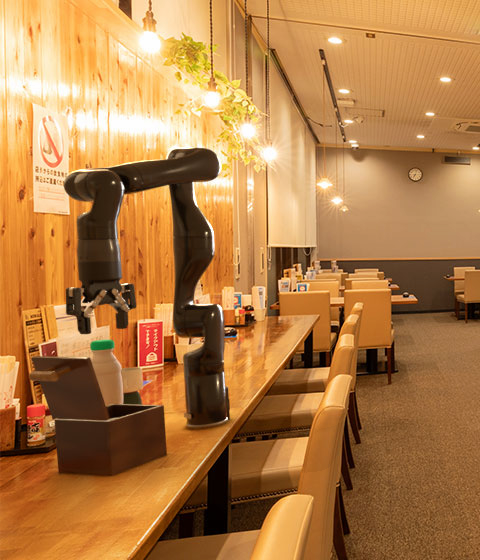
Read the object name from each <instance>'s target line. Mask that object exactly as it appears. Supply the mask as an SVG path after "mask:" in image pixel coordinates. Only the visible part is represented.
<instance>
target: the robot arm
mask: <svg viewBox="0 0 480 560" xmlns="http://www.w3.org/2000/svg"><path fill="white" fill-rule="evenodd" d="M221 170H222V163H221V159H220V157H219V155H218V154H217V153H216V152H215V151H214V150H212V149H209V148H207V147H197V146H196V147H175V148H172V149H171V150H170V151H169V152H168V153H167V156H166V158H165V159H152V160H151V159H150V160H140V161H132V162H126V163H121V164H118V165H114V166H107V167H95V168H94V167H93V168H84V169H78V170H75V171H72V172H70V173H69V174H68V175H66V177H65V179H64V181H63V190H64V192H65V193H66V194H67V196H69V197H70V198H71V199H73V200H74V201H77V202H84V203H92V204H91V208H90V210H88V211H87V212H83V213H80V214H78V215H77V217H76V223H75V224H76V235H77V236H76V237H77V243H76V259H77V272H78V273H77V274H78V275H77V276H78V280H79V282H81V286H80V287H67V288H66V289H65V314H66V315H67V316H73V317H75V318H76V325H77V332H78V333H79V334H80V335H90V334H92V325H91V324H92V323H91V317H90V315H91V314H92V312H93V311H94V310H96V309H97V307H98V306H103V305H108V306H110V307H112V308H113V309H114V311H116V312H115V326H116V329H118V330H125V329H127V328H128V327H129V312H130V311H131V310H134V309H137V299H136V290H135V284H134V283H128V282H127V283H121V282H120V280H122V279H123V270H122V269H123V268H122V255H121V247H120V243H119V232H118V231H119V230H118V220H119V216H120V213H121V208H122V205H123V201H124V196H125V195H126V196H127V195H134V194H139V193H142V192H147V191H150V190H154V189H158V188H161V187H166V186H168V189H169V195H170V204H171V220H172V251H173V262H174V263H173V267H174V289H173V290H174V291H173V306H172V308H173V309H172V325H173V330H174V333H175V335H176V336H177V337H179V338H181V339H203V344H202V345H201V346H199V347H198V348H195V349H193V350H190V351H187V352H185V353H184V354H183V356H182V362H183V363H182V364H183V366H182V367H183V382H184V383H183V384H184V397H185V398H184V399H185V400H184V401H185V412H184V413H183V417H184V418H185V419H186V428H187V429H190V430H191V429H192V430H202V429H208V428H214V427H218V426H222V425H224V424H226V423H228V421H230V420H231V414H230V410H231V404H230V403H231V402H230V397H229V395H230V394H229V387H228V386H226V375H225V373H226V372H225V349H226V347H225V346H226V344H225V343H226V342H225V337H226V336H225V335H226V334H225V331H226V330H225V329H226V327H225V326H226V323H225V322H226V320H225V313H224V310H223V307H222V306H221V305H219V304H218V303H195V294H196V288H197V286H198V284H199V281H200V280H201V278H202V277H203V275H204V274H205V273H206V272H207V270H208V268H209V267H210V266H211V263H212V261H213V260H214V257H215V253H216V252H215V233H214V229H213V227H212V225H211V223H210V222H209V220H208V219H207V217H206V216H205V214H204V213H203V211H202V210H201V208H200V207H199V205H198V202H197V200H196V195H195V183H206V182H212V181H213V180H216V179H217V178H218V177H219V176H220V173H221V172H222V171H221Z"/></svg>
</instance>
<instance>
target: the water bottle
mask: <svg viewBox="0 0 480 560" xmlns="http://www.w3.org/2000/svg"><path fill="white" fill-rule="evenodd" d="M89 349H90V350H91V352H92V353H93V355H92V357H90V359H91V362H92V365H93V368H94V371H95V374H96V377H97V380H98V383H99V387H100V390H101V393H102V396H103V399H104V402H105V405H106V406H107V405H111V404H123V383H122V376H121V369H122V364H121V363H120V361H119V360H118V358H117V356H116V355H114V353H113V351H114V350H115V341H114V340H113V339H98V340H97V339H96V340H93V341H90V345H89Z"/></svg>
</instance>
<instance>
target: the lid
mask: <svg viewBox="0 0 480 560" xmlns="http://www.w3.org/2000/svg"><path fill="white" fill-rule="evenodd" d="M30 359H31V361H32V364H33V367H34V370H33V371H31V372H30V373H29V375H28V377H29V380H30V381H32V382H38V383H39V384H40V387H41V388H40V389H41V390H42V393H43V397H44V399H45V401H46V404H47V408H48V410H49V413H50V416H51V418H52V420H53V419H54V420H56V419H78V420H106V421H107V420H108V419H110V418H109V414H108V411H107V408H106V405H105V402H104V399H103V396H102V393H101V390H100V387H99V383H98V380H97V377H96V374H95V371H94V368H93V365H92V362H91V357H90V356H51V355H50V356H48V355H34V356H32V357H30Z"/></svg>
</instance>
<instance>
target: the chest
mask: <svg viewBox="0 0 480 560" xmlns="http://www.w3.org/2000/svg"><path fill="white" fill-rule="evenodd" d="M106 408H107V411H108V414H109V418H110V419H111V418H116V419H113V420H109V421H103V420H78V419H54V431H55V433H54V434H55V444H56V445H55V446H56V458H57V459H56V460H57V472H58V474H75V475H77V474H78V475H94V476H95V475H96V476H115V475H117V474H120V473H122V472H125V471H127V470H130V469H133V468H136V467H138V466H140V465H143V464H145V463H148V462H150V461H153V460H156V459H160V458H161V457H163V456H166V455H168V452H167V437H166V436H167V435H166V420H165V418H166V417H165V405H163V404H161V405H160V404H142V405H136V404H111V405H107V406H106Z"/></svg>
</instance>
